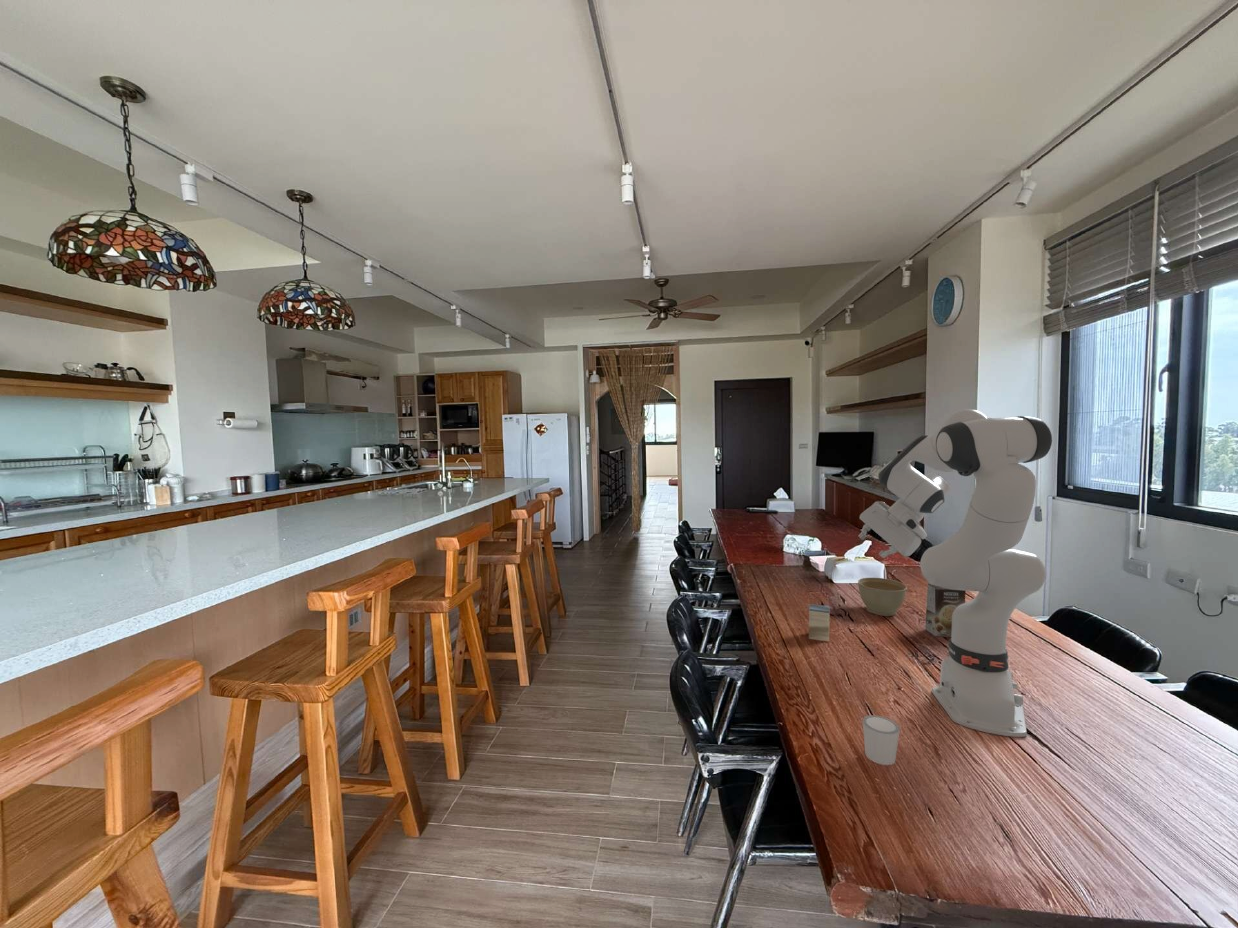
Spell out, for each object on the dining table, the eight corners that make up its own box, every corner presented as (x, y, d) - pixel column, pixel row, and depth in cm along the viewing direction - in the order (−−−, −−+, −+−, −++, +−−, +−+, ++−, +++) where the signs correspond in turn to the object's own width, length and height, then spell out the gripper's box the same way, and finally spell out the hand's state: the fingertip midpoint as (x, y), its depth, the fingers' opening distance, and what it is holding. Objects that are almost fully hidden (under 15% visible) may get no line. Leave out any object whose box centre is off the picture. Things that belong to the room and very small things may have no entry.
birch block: (828, 641, 161) (829, 611, 160) (808, 638, 163) (809, 608, 163) (829, 635, 165) (829, 606, 165) (809, 632, 168) (810, 603, 167)
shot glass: (866, 741, 109) (866, 710, 108) (901, 754, 104) (902, 722, 104) (858, 757, 103) (858, 725, 103) (895, 771, 99) (896, 737, 98)
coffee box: (934, 636, 164) (936, 589, 163) (924, 629, 170) (926, 583, 169) (964, 637, 163) (966, 589, 162) (953, 630, 169) (954, 583, 168)
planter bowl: (863, 618, 181) (863, 588, 180) (853, 603, 196) (853, 576, 196) (912, 621, 177) (913, 591, 176) (898, 606, 193) (898, 578, 192)
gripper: (874, 494, 166) (844, 524, 169) (923, 531, 149) (888, 563, 152) (883, 502, 169) (853, 531, 172) (931, 539, 152) (897, 570, 155)
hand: (870, 546), depth 162 cm, fingers open, 8 cm apart
